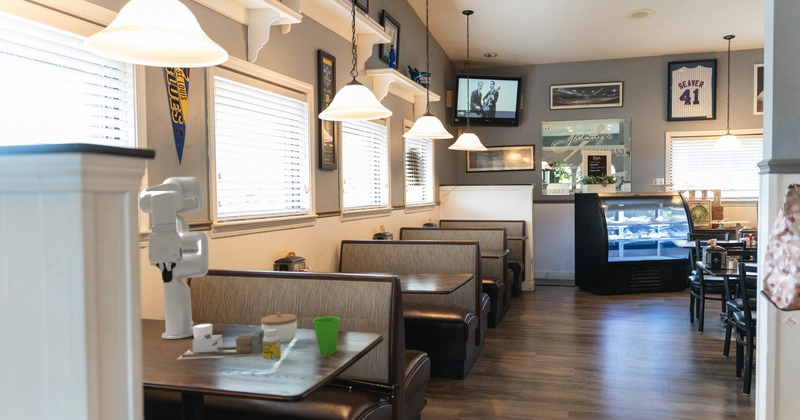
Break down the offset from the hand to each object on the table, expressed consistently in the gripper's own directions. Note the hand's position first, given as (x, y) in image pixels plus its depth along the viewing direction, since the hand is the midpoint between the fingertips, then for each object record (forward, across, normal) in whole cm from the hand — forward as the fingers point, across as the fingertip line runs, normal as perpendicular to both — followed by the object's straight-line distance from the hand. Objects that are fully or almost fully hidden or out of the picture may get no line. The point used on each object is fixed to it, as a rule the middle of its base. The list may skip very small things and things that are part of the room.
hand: (167, 281), depth 190 cm
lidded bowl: (+24, +36, +5) cm, 44 cm away
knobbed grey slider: (+22, +15, -9) cm, 29 cm away
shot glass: (+25, +8, +8) cm, 27 cm away
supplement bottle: (+23, +38, -16) cm, 47 cm away
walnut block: (+22, +28, -8) cm, 37 cm away
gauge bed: (+24, +20, -8) cm, 32 cm away
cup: (+23, +55, -10) cm, 61 cm away
